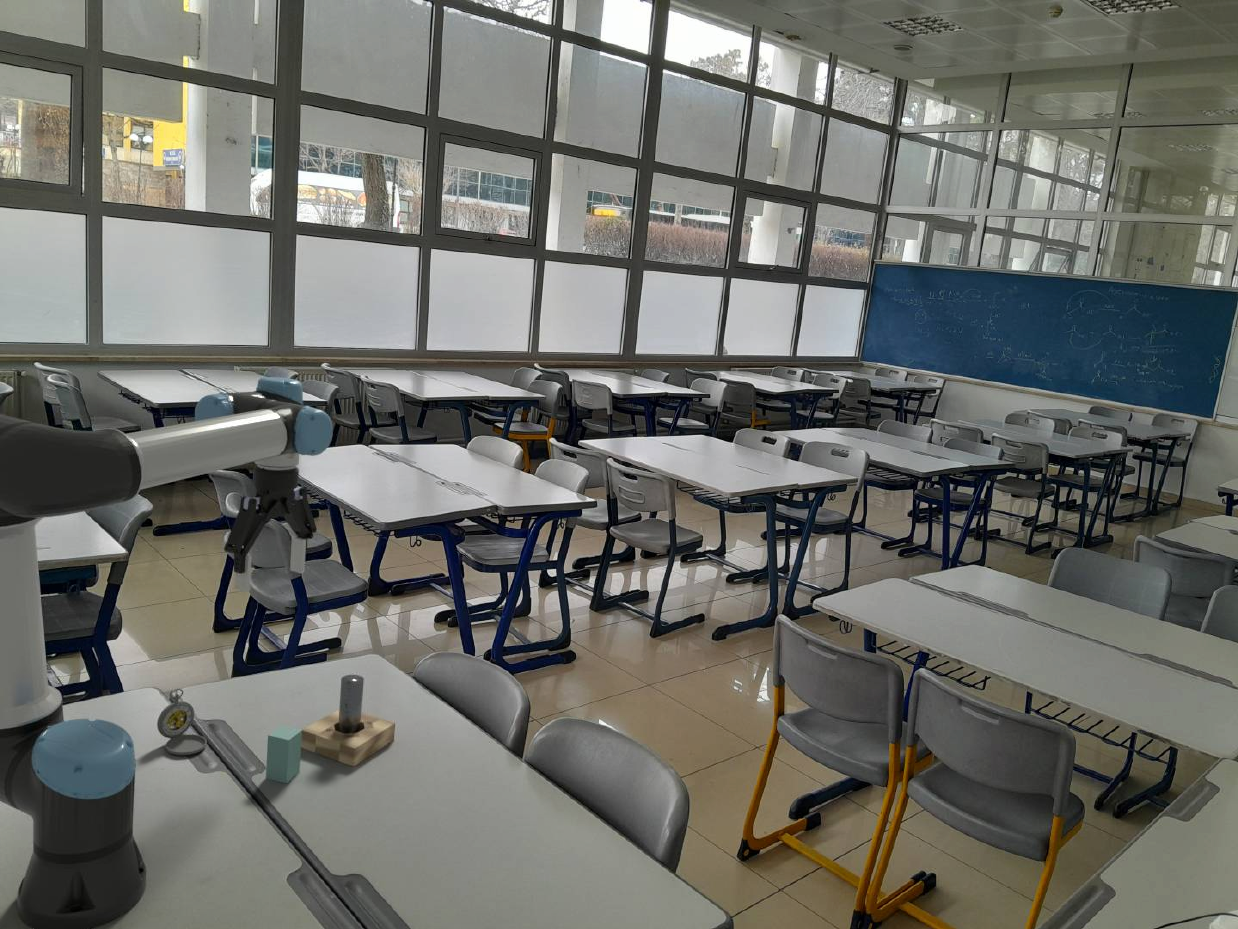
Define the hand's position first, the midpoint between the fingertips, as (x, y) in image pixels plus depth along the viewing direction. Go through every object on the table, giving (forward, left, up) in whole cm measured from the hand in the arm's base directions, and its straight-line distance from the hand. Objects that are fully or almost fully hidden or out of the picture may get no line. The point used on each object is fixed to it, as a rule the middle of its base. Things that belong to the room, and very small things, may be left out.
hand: (270, 580), depth 167 cm
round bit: (+7, -14, -31) cm, 34 cm away
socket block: (+7, -14, -31) cm, 34 cm away
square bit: (-8, -12, -31) cm, 34 cm away
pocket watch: (-10, +9, -31) cm, 34 cm away
